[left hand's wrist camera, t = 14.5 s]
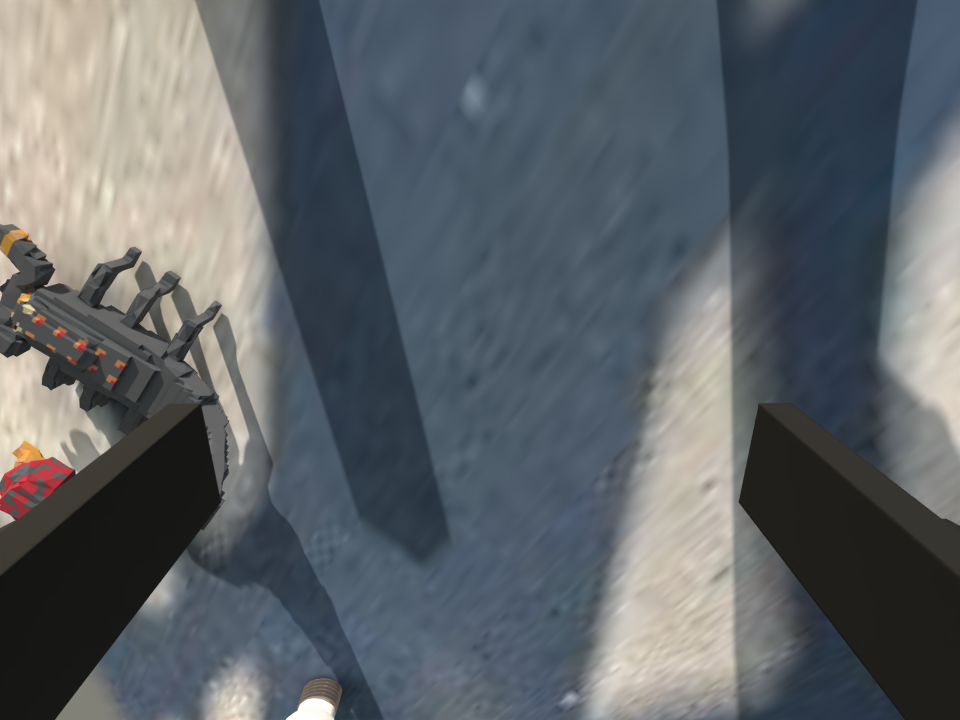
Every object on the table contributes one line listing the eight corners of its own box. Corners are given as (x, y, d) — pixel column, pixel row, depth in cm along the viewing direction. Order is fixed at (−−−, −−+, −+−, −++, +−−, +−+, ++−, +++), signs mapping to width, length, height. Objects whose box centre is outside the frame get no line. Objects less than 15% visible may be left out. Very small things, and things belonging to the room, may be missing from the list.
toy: (240, 482, 46) (99, 670, 29) (-66, 300, 41) (-465, 401, 23) (321, 371, 43) (214, 511, 26) (-4, 154, 37) (-422, 146, 20)
